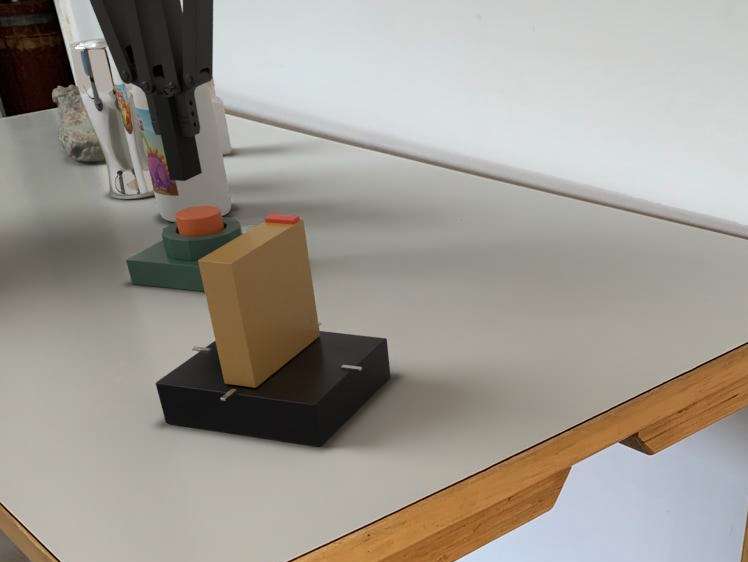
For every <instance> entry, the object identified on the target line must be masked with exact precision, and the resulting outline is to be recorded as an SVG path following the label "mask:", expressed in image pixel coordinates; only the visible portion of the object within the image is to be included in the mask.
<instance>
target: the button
mask: <svg viewBox="0 0 748 562" xmlns="http://www.w3.org/2000/svg"><path fill="white" fill-rule="evenodd" d="M175 217H176V221H177V226H178V230H179V234H180V235H184V236H202V235H209V234H213V233H217V232H220V231H222V230H223V229H224V225H223V220H222V217H223V216H222V215H221V210H220V209H219V208H217V207H213V206H196V207H190V208H186V209H183V210H180V211H178V212H177V213H176V214H175Z"/></svg>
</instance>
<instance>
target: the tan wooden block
mask: <svg viewBox="0 0 748 562" xmlns="http://www.w3.org/2000/svg"><path fill="white" fill-rule="evenodd" d="M309 256H310V255H309V250H308V242H307V235H306V229H305V223H304V219H303V218H302V219H301V217H300V215H291V214H290V215H289V214H288V215H287V214H278V213H277V214H273V213H271V214H269V215H268V216H266V217H265V218H264V221H262V222H261V223H259V224H258V225H256V226H254V227H253V228H251V229H249V230H248V231H245V232H244V233H242V235H241V236H239V237H237V238H236V239H234V240H232V241H230V242H229V243H227V244H225V245H224V246H222V247H220V248H218V249H217V250H215V251H213V252H212V253H210V254H208V255H206V256H205V257H203V258H201V259H200V260H198V263H199V267H200V272H201V277H202V281H203V286H204V290H205V291H204V295H205V300H206V303H207V309H208V313H209V317H210V321H211V322H210V323H211V326H212V332H213V336H214V341H216V346H217V350H218V355H219V359H220V364H221V369H222V373H223V378H224V382H225V384H231V385H238V386H246V387H253V388H256V387H258V386H259V385H260V384H261V383H263V382H264V381H265V380H266V379H267V378H269V377H270V376H271V375H272V374H274V373H275V372H276V371H277V370H279V369H280V368H281V367H282V366H283V365H285V364H286V363H287V362H288V361H290V360H291V359H292V358H293V357H295V356H296V355H297V354H298V353H299V352H301V351H302V350H303V349H304V348H306V347H307V346H308V345H309V344H310V343H312V342H313V341H314V340H315V339H317V338H318V337H319V336H320V331H321V330H320V326H319V324H318V322H319V318H318V317H319V316H318V311H317V305H316V303H317V302H316V296H315V290H314V284H313V283H314V282H313V278H312V277H313V276H312V270H311V263H310V257H309Z"/></svg>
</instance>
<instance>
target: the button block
mask: <svg viewBox="0 0 748 562" xmlns="http://www.w3.org/2000/svg"><path fill="white" fill-rule="evenodd" d="M222 220H223V225H224V229H223V230H222V231H220V232H217V233H213V234H209V235H202V236H184V235H180V234H179V230H178V226H177V222H172V223H171V224H169V225H166V226H165V227H163V228H162V233H161V238H162V240H160V241H158V242H156V243H154V244H152V245H150V246H149V247H146V248H144V249H143V250H141V251H140V252H137V253H136V254H134V255H132V256H130V257H128V258H126V259H125V262H126V266H127V269H128V273H129V277H130V280H131V284H132V285H139V286H148V287H150V286H151V287H157V288H158V287H160V288H169V289H177V290H187V291H198V292H205V290H204V286H203V281H202V277H201V272H200V267H199V263H198V260H200V259H201V258H203V257H205V256H206V255H208V254H210V253H212V252H213V251H215V250H217V249H218V248H220V247H222V246H224V245H225V244H227V243H229V242H230V241H232V240H234V239H236V238H237V237H239V236H241V235H242V234H243V230H242V226H241V221H240V220H237V219H235V218H232V217H228V216H222Z"/></svg>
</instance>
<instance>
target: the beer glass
mask: <svg viewBox="0 0 748 562" xmlns="http://www.w3.org/2000/svg"><path fill="white" fill-rule="evenodd" d="M69 48H70V54H71V59H72V64H73V69H74V75H75V79H76V84H77V86H78V88H79V92H80V95H81V99H82V102H83V105H84V108H85V110H86V113H87V116H88V118H89V121H90V123H91V125H92V128H93V130H94V132H95V135H96V137H97V139H98V142H99V144H100V146H101V149H102V151H103V154H104V157H105V160H106V161H105V164H106V169H107V175H108V187H109V194H110V196H111V197H112V198H114V199H119V200H137V199H144V198H149V197H153V196H155V193H154V189H153V185H152V181H151V176H150V172H149V168H148V164H147V159H146V155H145V151H144V146H143V142H142V137H141V133H140V129H139V124H138V120H137V115H136V110H135V104H134V99H133V90H132V84H131V83H130V84H126V83H124V82H123V81H122V80H121V78H120V75H119V73H118V70H117V68H116V65H115V63H114V60H113V58H112V55H111V53H110V50H109V48H108V45H107V43H106V40H105V38H104V37H102V38H101V37H100V38H92V39H84V40H79V41H75V42H72V43H70V44H69Z"/></svg>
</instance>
